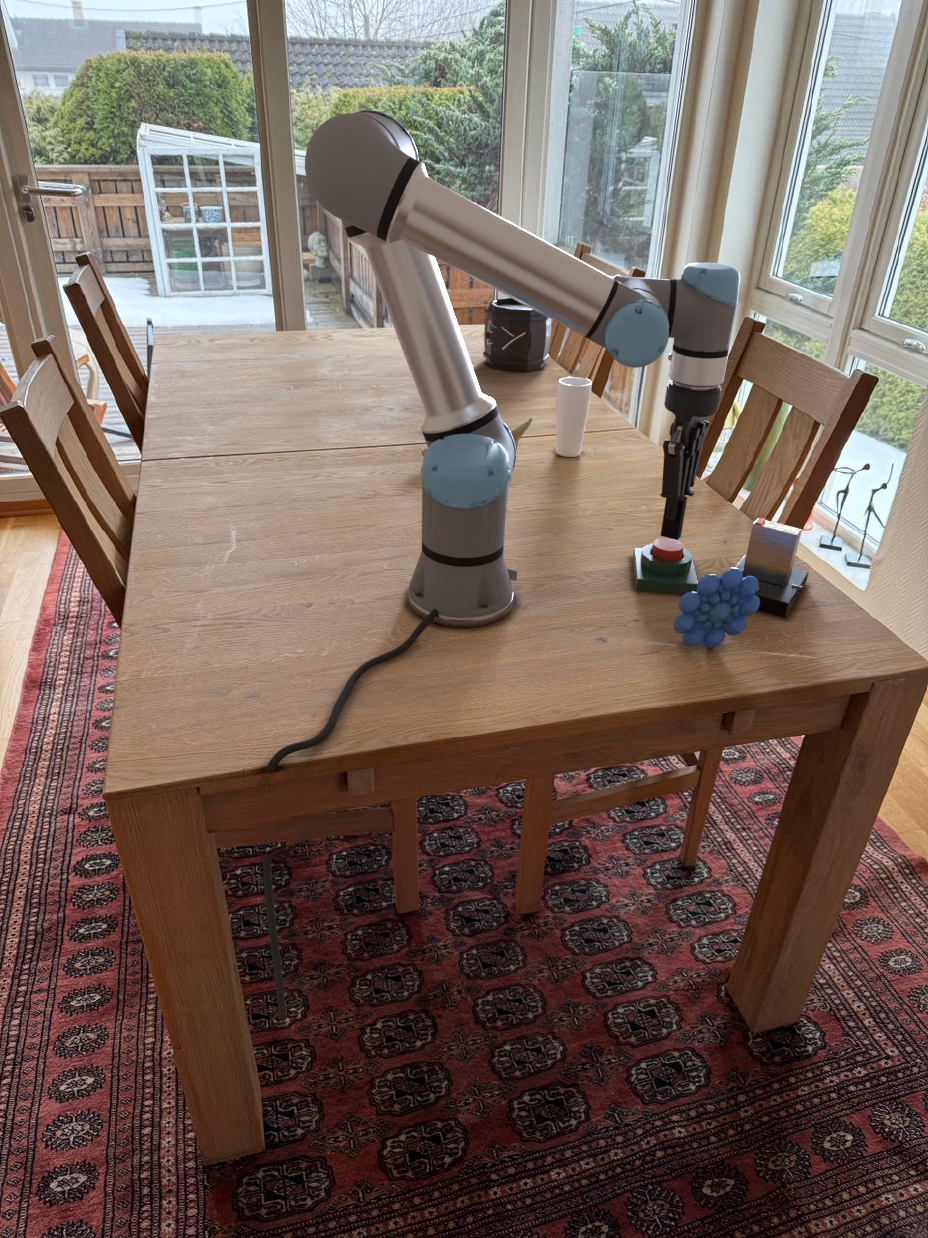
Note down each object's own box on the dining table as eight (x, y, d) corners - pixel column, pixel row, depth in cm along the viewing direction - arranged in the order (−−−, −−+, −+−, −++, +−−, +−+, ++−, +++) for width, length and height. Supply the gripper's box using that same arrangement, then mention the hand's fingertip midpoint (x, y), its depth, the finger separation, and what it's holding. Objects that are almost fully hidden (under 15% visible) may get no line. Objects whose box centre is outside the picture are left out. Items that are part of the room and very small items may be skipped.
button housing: (695, 595, 138) (700, 572, 136) (635, 590, 138) (639, 567, 136) (688, 562, 147) (692, 540, 145) (632, 558, 148) (635, 535, 146)
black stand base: (787, 619, 132) (791, 603, 131) (715, 598, 137) (718, 582, 136) (807, 586, 141) (811, 571, 140) (739, 568, 146) (742, 553, 145)
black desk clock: (472, 356, 252) (474, 297, 244) (533, 353, 257) (537, 295, 249) (493, 374, 237) (496, 311, 229) (557, 370, 242) (562, 309, 234)
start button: (682, 563, 139) (685, 552, 138) (652, 561, 139) (654, 549, 138) (680, 550, 143) (682, 539, 142) (650, 548, 143) (652, 536, 142)
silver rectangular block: (789, 580, 137) (802, 527, 133) (784, 587, 136) (797, 533, 131) (747, 568, 140) (758, 516, 136) (741, 575, 138) (753, 522, 134)
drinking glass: (546, 455, 187) (552, 382, 180) (559, 445, 192) (565, 374, 185) (577, 461, 185) (584, 388, 177) (589, 451, 190) (597, 380, 182)
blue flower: (737, 628, 130) (753, 552, 124) (757, 654, 124) (775, 575, 118) (658, 632, 128) (671, 555, 122) (675, 658, 122) (689, 579, 116)
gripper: (685, 367, 134) (662, 515, 146) (652, 388, 124) (631, 545, 136) (735, 376, 130) (708, 527, 142) (705, 398, 121) (679, 558, 133)
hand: (670, 536), depth 139 cm, fingers closed
